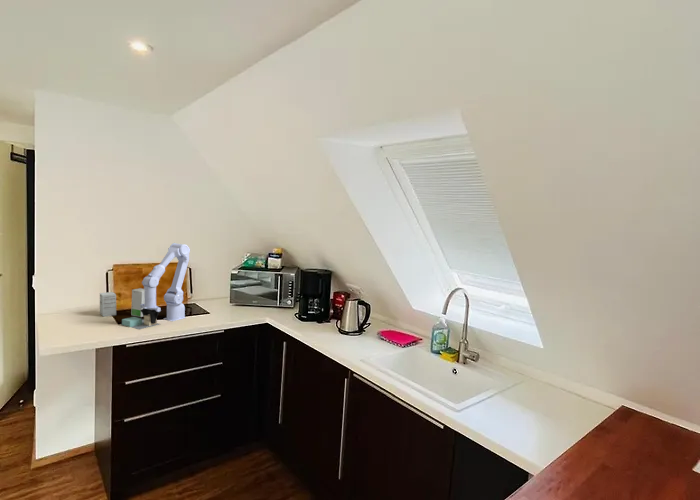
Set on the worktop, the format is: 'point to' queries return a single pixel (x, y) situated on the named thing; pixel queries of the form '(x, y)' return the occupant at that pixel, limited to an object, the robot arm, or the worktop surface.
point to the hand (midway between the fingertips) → (150, 322)
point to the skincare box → (137, 301)
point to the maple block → (148, 320)
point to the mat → (142, 325)
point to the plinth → (132, 321)
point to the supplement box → (108, 304)
